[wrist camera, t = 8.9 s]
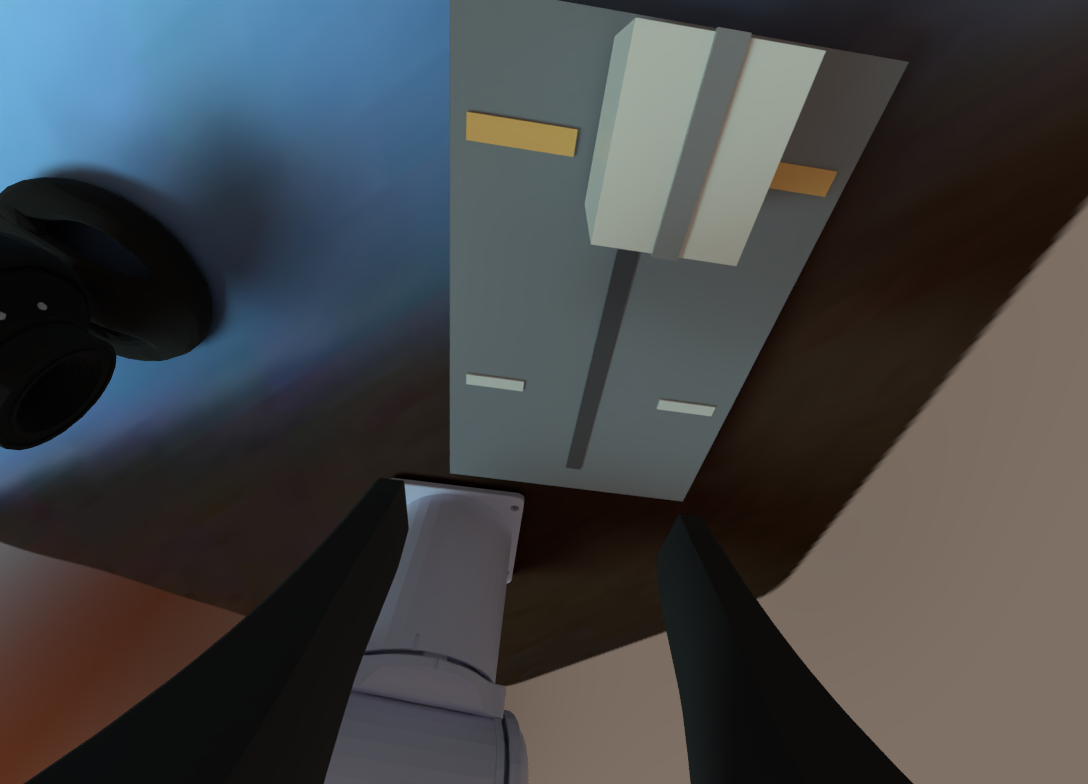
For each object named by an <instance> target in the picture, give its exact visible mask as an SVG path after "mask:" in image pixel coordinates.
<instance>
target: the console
mask: <svg viewBox="0 0 1088 784" xmlns="http://www.w3.org/2000/svg"><path fill="white" fill-rule="evenodd" d="M635 18H642V19H648V20H653V21H659V22H665V23H670V24H676V25H682V26H688V27H693V28H699V29H705V30H710V31H715V30H716V28H713V27H707V26H701V25H696V24H690V23H684V22H679V21H673V20H667V19H662V18H656V17H650V16H645V15H639V14H633V13H628V12H622V11H616V10H611V9H605V8H599V7H593V6H588V5H582V4H576V3H571V2H565V1H559V0H450V473H453V474H462V475H470V476H478V477H486V478H494V479H503V480H511V481H519V482H527V483H535V484H543V485H552V486H560V487H568V488H576V489H584V490H593V491H601V492H609V493H617V494H625V495H634V496H642V497H650V498H658V499H666V500H675V501H683V500H684V498H685V496H686V494H687V492H688V490H689V488H690V487H691V485H692V483H693V481H694V479H695V477H696V475H697V473H698V471H699V469H700V467H701V465H702V463H703V461H704V459H705V457H706V455H707V454H708V452H709V450H710V448H711V446H712V444H713V442H714V440H715V438H716V436H717V434H718V432H719V430H720V428H721V426H722V424H723V422H724V420H725V419H726V417H727V415H728V413H729V411H730V409H731V407H732V405H733V403H734V401H735V399H736V397H737V395H738V393H739V391H740V389H741V387H742V386H743V384H744V382H745V380H746V378H747V376H748V374H749V372H750V370H751V368H752V366H753V364H754V362H755V360H756V358H757V356H758V354H759V352H760V351H761V349H762V347H763V345H764V343H765V341H766V339H767V337H768V335H769V333H770V331H771V329H772V327H773V325H774V323H775V321H776V319H777V318H778V316H779V314H780V312H781V310H782V308H783V306H784V304H785V302H786V300H787V298H788V296H789V294H790V292H791V290H792V288H793V286H794V285H795V283H796V281H797V279H798V277H799V275H800V273H801V271H802V269H803V267H804V265H805V263H806V261H807V259H808V257H809V255H810V253H811V251H812V250H813V248H814V246H815V244H816V242H817V240H818V238H819V236H820V234H821V232H822V230H823V228H824V226H825V224H826V222H827V220H828V218H829V217H830V215H831V213H832V211H833V209H834V207H835V205H836V203H837V201H838V199H839V197H840V195H841V193H842V191H843V189H844V187H845V185H846V183H847V182H848V180H849V178H850V176H851V174H852V172H853V170H854V168H855V166H856V164H857V162H858V160H859V158H860V156H861V154H862V152H863V150H864V149H865V147H866V145H867V143H868V141H869V139H870V137H871V135H872V133H873V131H874V129H875V127H876V125H877V123H878V121H879V119H880V117H881V115H882V114H883V112H884V110H885V108H886V106H887V104H888V102H889V100H890V98H891V96H892V94H893V92H894V90H895V88H896V86H897V84H898V82H899V81H900V79H901V77H902V75H903V73H904V71H905V69H906V67H907V65H908V63H909V62H906V61H900V60H895V59H889V58H883V57H878V56H872V55H866V54H861V53H855V52H849V51H844V50H838V49H832V48H827V47H821V46H815V45H809V44H804V43H798V42H792V41H787V40H781V39H775V38H770V37H764V36H758V35H753V34H751V37H750V38H756V39H762V40H767V41H773V42H779V43H784V44H790V45H796V46H801V47H807V48H813V49H819V50H824V51H826V52H825V54H824V57H823V59H822V62H821V64H820V66H819V69H818V71H817V74H816V76H815V79H814V81H813V83H812V86H811V88H810V91H809V93H808V95H807V98H806V100H805V103H804V105H803V107H802V110H801V112H800V115H799V117H798V119H797V122H796V124H795V127H794V129H793V131H792V134H791V136H790V139H789V141H788V143H787V146H786V148H785V151H784V153H783V155H782V158H781V160H780V163H779V165H778V167H777V170H776V172H775V175H774V177H773V179H772V182H771V184H770V187H769V189H768V191H767V194H766V196H765V199H764V201H763V203H762V206H761V208H760V211H759V213H758V215H757V218H756V220H755V223H754V225H753V227H752V230H751V232H750V235H749V237H748V239H747V242H746V244H745V247H744V249H743V251H742V254H741V256H740V259H739V261H738V263H737V266H732V265H725V264H718V263H712V262H705V261H698V260H692V259H685V258H678V260H677V261H672V260H665V259H659V258H652V257H651V253H645V252H638V251H631V250H625V249H618V248H611V247H605V246H598V245H591V243H590V236H589V230H588V223H587V217H586V210H585V199H586V193H587V188H588V182H589V176H590V171H591V165H592V160H593V154H594V149H595V143H596V137H597V132H598V126H599V121H600V115H601V110H602V104H603V98H604V93H605V87H606V82H607V76H608V71H609V65H610V59H611V54H612V48H613V43H614V37H615V36H616V35H617V34H618V33H619V32H620V31H621V30H622V29H623V28H625V27H626V26H627V25H628V24H629V23H630V22H631V21H632V20H633V19H635Z"/></svg>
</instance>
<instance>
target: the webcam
mask: <svg viewBox="0 0 1088 784" xmlns="http://www.w3.org/2000/svg"><path fill="white" fill-rule="evenodd" d="M62 220H69V221H76V222H81V223H83V224H86V225H89V226H91V227H94V228H96V229H98V230H100V231H101V232H103V233H105V234H107V235H108V236H110V237H112V238H114V239H115V240H117V241H118V242H120V243H121V244H122V245H123V246H125V247H126V248H127V249H128V250H129V251H131V252H132V253H133V254H134V255H136V256H137V257H138V258H139V259H140V260H141V261H142V262H143V263H144V265H145V266H146V267H148V269H149V271H150V272H151V276H152V278H150V279H142V278H138V277H134V276H130V275H126V274H123V273H121V272H118V271H116V270H113V269H111V268H109V267H106V266H104V265H102V264H100V263H98V262H96V261H94V260H91V259H89V258H87V257H85V256H83V255H81V254H79V253H76V252H75V251H73V250H71V249H70V248H68V247H67V246H65V245H63V244H62V243H60V242H58V241H57V240H55V239H53V238H52V237H51V236H50V235H49V233H48V232H49V229H50V228H51V226H52V225H53V224H54V223H55V222H57V221H62ZM211 319H212V305H211V298H210V294H209V291H208V287H207V285H206V283H205V281H204V280H203V278H202V276H201V275H200V273H199V271H198V270H197V268H196V266H195V265H194V263H193V261H192V260H191V258H190V256H189V255H188V253H187V252H186V251H185V249H184V248H183V247H182V246H181V244H180V243H179V242H178V241H177V240H176V239H175V238H174V237H173V236H172V235H171V234H170V233H169V232H168V231H167V230H166V229H165V228H164V227H163V226H162V225H160V224H159V223H158V222H157V221H156V220H154V219H153V218H151V217H150V216H149V215H147V214H146V213H144V212H143V211H141V210H140V209H139V208H137V207H136V206H134V205H133V204H131V203H130V202H128V201H127V200H125V199H124V198H122V197H119V196H117V195H115V194H113V193H111V192H109V191H107V190H104V189H102V188H99V187H96V186H93V185H89V184H86V183H83V182H80V181H76V180H70V179H63V178H48V177H43V178H36V179H29V180H23V181H20V182H18V183H15V184H13V185H11V186H8V187H7V188H6V189H5V190H3V191H2V192H1V193H0V447H2V448H5V449H13V450H23V449H29V448H32V447H35V446H38V445H40V444H43V443H45V442H47V441H49V440H51V439H53V438H54V437H56V436H58V435H59V434H61V433H63V432H64V431H66V430H67V429H68V428H69V427H71V426H72V425H73V424H74V423H75V422H77V421H78V420H79V419H80V418H82V417H83V416H84V415H85V414H86V413H87V411H88V410H89V409H90V408H91V407H92V406H93V405H94V404H95V403H96V402H97V400H98V399H99V398H100V396H101V395H102V394H103V392H104V391H105V389H106V387H107V385H108V384H109V382H110V380H111V378H112V375H113V372H114V369H115V366H116V355H118V356H122V357H125V358H129V359H135V360H142V361H162V360H167V359H171V358H174V357H177V356H180V355H183V354H186V353H188V352H190V351H191V350H192V349H194V348H195V347H196V346H198V345H199V344H200V343H201V342H202V340H203V339H204V338H205V336H206V334H207V332H208V331H209V328H210V324H211Z"/></svg>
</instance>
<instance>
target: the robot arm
mask: <svg viewBox="0 0 1088 784" xmlns="http://www.w3.org/2000/svg"><path fill="white" fill-rule="evenodd" d="M523 507H524V496H523V495H521V494H520V493H515V492H506V491H498V490H490V489H482V488H473V487H465V486H457V485H448V484H440V483H432V482H424V481H415V480H407V479H399V478H392V479H386V478H379V479H378V480H376V481H375V483H374V484H373V485H372V486H371V488H370V489H369V490H368V491H367V492H366V494H365V495H364V496H363V497H362V499H361V500H360V501H359V502H358V503H357V504H356V506H355V507H354V508H353V509H352V510H351V511H350V513H349V514H348V515H347V516H346V517H345V518H344V519H343V521H342V522H341V523H340V524H339V525H338V526H337V527H336V528H335V529H334V531H333V532H332V533H331V534H330V535H329V536H328V537H327V538H326V539H325V540H324V541H323V542H322V544H321V545H320V546H319V547H318V548H317V549H316V550H315V551H314V552H313V553H312V554H311V555H310V556H309V557H308V558H307V559H306V560H305V561H304V562H303V563H302V564H301V565H300V566H299V567H298V568H297V569H296V570H295V571H294V572H293V573H292V574H291V575H290V576H289V577H288V578H287V579H286V580H285V581H284V582H283V583H282V584H281V585H280V586H279V587H278V588H277V589H276V590H275V591H274V592H273V593H272V594H270V595H269V596H268V597H267V598H266V599H265V600H264V601H263V602H262V603H261V604H260V605H259V606H257V607H256V608H255V609H254V610H253V611H252V612H251V613H250V614H248V615H247V616H246V617H245V618H244V619H243V620H242V621H241V622H239V623H238V624H237V625H236V626H235V627H234V628H232V629H231V630H230V631H229V632H228V633H227V634H225V635H224V636H223V637H222V638H221V639H220V640H218V641H217V642H216V643H214V644H213V645H212V646H211V647H210V648H208V649H207V650H206V651H205V652H204V653H202V654H201V655H200V656H199V657H198V658H196V659H195V660H194V661H193V662H191V663H190V664H189V665H188V666H186V667H185V668H184V669H183V670H181V671H180V672H179V673H178V674H176V675H175V676H174V677H172V678H171V679H170V680H168V681H167V682H166V683H164V684H163V685H162V686H160V687H159V688H158V689H156V690H155V691H154V692H152V693H151V694H150V695H148V696H147V697H146V698H144V699H143V700H142V701H140V702H139V703H138V704H136V705H135V706H134V707H132V708H131V709H129V710H128V711H127V712H125V713H124V714H123V715H122V716H120V717H119V718H118V719H116V720H115V721H114V722H112V723H111V724H110V725H108V726H107V727H105V728H104V729H102V730H101V731H100V732H98V733H97V734H95V735H94V736H93V737H91V738H90V739H88V740H87V741H85V742H84V743H83V744H81V745H79V746H78V747H77V748H75V749H74V750H72V751H71V752H69V753H68V754H66V755H65V756H63V757H62V758H61V759H59V760H58V761H56V762H55V763H53V764H52V765H50V766H49V767H47V768H46V769H44V770H43V771H41V772H40V773H39V774H37V775H36V776H34V777H33V778H31V779H30V780H28V781H27V782H26V783H24V784H528V758H527V751H526V745H525V741H524V738H523V735H522V733H521V731H520V728H519V724H518V721H517V719H516V718H515V716H514V714H513V713H511V712H510V711H507V710H504V702H505V692H506V687H505V686H501V685H497V684H495V678H496V670H497V661H498V653H499V644H500V636H501V627H502V619H503V610H504V602H505V593H506V585H507V583H509V582H511V580H512V574H513V568H514V562H515V555H516V549H517V543H518V537H519V531H520V525H521V519H522V513H523ZM656 561H657V574H658V585H659V594H660V601H661V606H662V611H663V616H664V621H665V626H666V631H667V636H668V640H669V645H670V650H671V655H672V659H673V664H674V668H675V674H676V678H677V682H678V688H679V693H680V699H681V705H682V711H683V718H684V727H685V736H686V744H687V752H688V761H689V771H690V781H691V784H913V783H912V782H911V781H910V780H909V779H908V778H907V777H906V776H905V775H904V774H903V773H902V772H901V771H900V770H899V769H898V768H897V767H896V766H895V765H894V764H893V762H892V761H891V760H890V759H889V758H888V757H887V756H886V755H885V754H884V753H883V752H882V751H881V750H880V749H879V748H878V746H877V745H875V743H874V742H873V741H872V740H871V739H870V738H869V737H868V736H867V735H866V734H865V733H864V732H863V730H861V728H860V727H859V726H858V725H857V724H856V723H855V722H854V721H853V720H852V719H851V718H850V717H849V715H847V713H846V712H845V711H844V710H843V709H842V708H841V706H840V705H839V704H838V703H837V702H836V701H835V700H834V698H833V697H832V696H831V695H830V694H829V693H828V692H827V690H826V689H825V688H824V687H823V685H821V683H820V682H819V681H818V680H817V678H816V677H815V676H814V675H813V674H812V672H810V670H809V669H808V668H807V666H806V665H805V664H804V663H803V661H802V660H801V659H800V658H799V656H798V655H797V654H796V652H795V651H794V650H793V649H792V647H791V646H790V645H789V643H788V642H787V641H786V639H785V638H784V637H783V635H782V634H781V633H780V631H779V630H778V629H777V627H776V626H775V625H774V623H773V622H772V621H771V619H770V618H769V616H768V615H767V614H766V612H765V611H764V610H763V608H762V607H761V605H760V604H759V602H758V601H757V600H756V598H755V597H754V595H753V594H752V592H751V591H750V589H749V588H748V587H747V585H746V584H745V582H744V581H743V579H742V578H741V576H740V575H739V573H738V572H737V570H736V569H735V567H734V566H733V564H732V563H731V561H730V560H729V558H728V556H727V555H726V553H725V552H724V550H723V549H722V547H721V546H720V544H719V543H718V541H717V539H716V538H715V536H714V535H713V533H712V532H711V530H710V528H709V527H708V525H707V524H706V522H705V521H704V519H703V518H702V517H701V516H693V515H685V514H679V515H678V517H677V519H676V521H675V522H674V524H673V526H672V528H671V530H670V532H669V534H668V536H667V538H666V540H665V542H664V544H663V546H662V547H661V549H660V551H659V553H658V555H657V557H656Z"/></svg>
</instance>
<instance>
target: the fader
mask: <svg viewBox="0 0 1088 784" xmlns="http://www.w3.org/2000/svg"><path fill="white" fill-rule="evenodd" d="M751 34H752V33H750V32H744V31H739V30H733V29H727V28H722V27H717V28H716V30H715V31H710V30H705V29H699V28H693V27H688V26H682V25H676V24H670V23H665V22H659V21H653V20H648V19H642V18H635V19H633V20H632V21H631V22H630V23H629V24H628V25H627V26H626V27H625V28H623V29H622V30H621V31H620V32H619V33H618V34H617V35H616V36H615V37H614V43H613V48H612V54H611V59H610V65H609V71H608V76H607V82H606V87H605V93H604V98H603V104H602V110H601V115H600V121H599V126H598V132H597V137H596V143H595V149H594V154H593V160H592V165H591V171H590V176H589V182H588V188H587V193H586V199H585V210H586V217H587V223H588V230H589V236H590V243H591V245H598V246H605V247H611V248H618V249H625V250H631V251H638V252H645V253H651V257H652V258H659V259H665V260H672V261H677V260H678V258H685V259H692V260H698V261H705V262H712V263H718V264H725V265H732V266H737V263H738V261H739V259H740V256H741V254H742V251H743V249H744V247H745V244H746V242H747V239H748V237H749V235H750V232H751V230H752V227H753V225H754V223H755V220H756V218H757V215H758V213H759V211H760V208H761V206H762V203H763V201H764V199H765V196H766V194H767V191H768V189H769V187H770V184H771V182H772V179H773V177H774V175H775V172H776V170H777V167H778V165H779V163H780V160H781V158H782V155H783V153H784V151H785V148H786V146H787V143H788V141H789V139H790V136H791V134H792V131H793V129H794V127H795V124H796V122H797V119H798V117H799V115H800V112H801V110H802V107H803V105H804V103H805V100H806V98H807V95H808V93H809V91H810V88H811V86H812V83H813V81H814V79H815V76H816V74H817V71H818V69H819V66H820V64H821V62H822V59H823V57H824V54H825V52H826V51H824V50H819V49H813V48H807V47H801V46H796V45H790V44H784V43H779V42H773V41H767V40H762V39H756V38H750V37H751Z"/></svg>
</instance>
